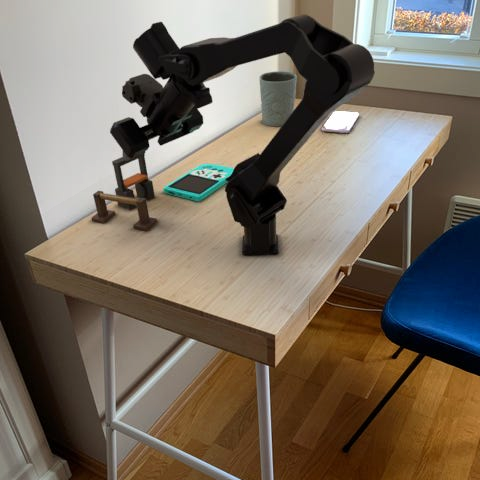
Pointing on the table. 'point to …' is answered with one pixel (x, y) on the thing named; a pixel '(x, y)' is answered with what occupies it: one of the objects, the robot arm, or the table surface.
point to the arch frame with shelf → (133, 181)
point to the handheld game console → (199, 182)
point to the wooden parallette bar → (105, 215)
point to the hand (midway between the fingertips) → (142, 150)
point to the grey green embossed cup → (277, 96)
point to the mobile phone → (340, 122)
